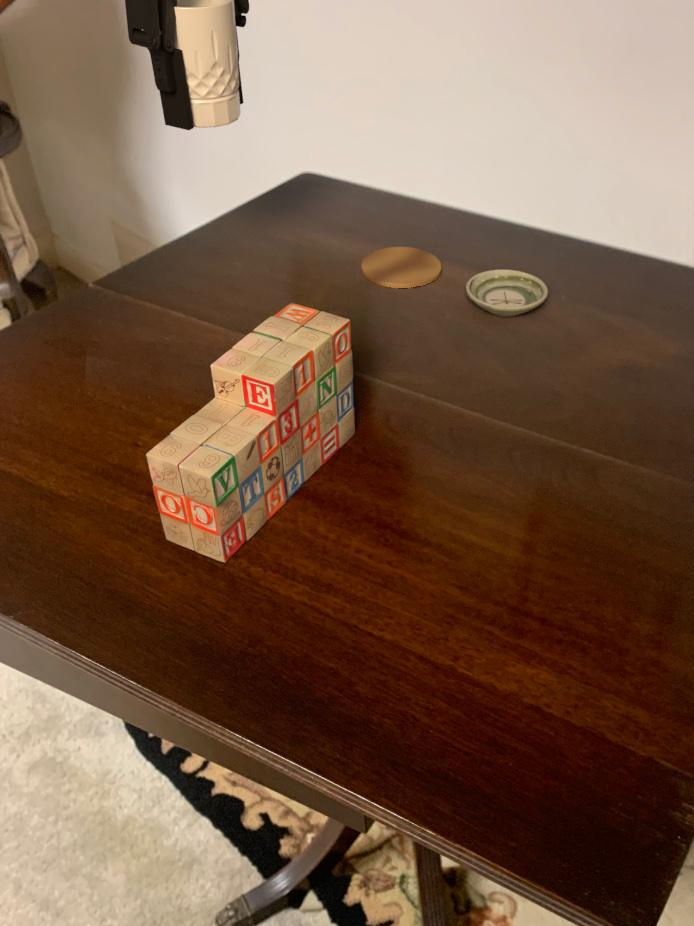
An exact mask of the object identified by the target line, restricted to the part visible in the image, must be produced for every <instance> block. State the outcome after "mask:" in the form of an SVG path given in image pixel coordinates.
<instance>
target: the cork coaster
mask: <svg viewBox="0 0 694 926" xmlns="http://www.w3.org/2000/svg"><path fill="white" fill-rule="evenodd" d="M442 269H443V268H442V262H441V260H439V258H438V257H437V256H436V255H434V254H432V253H431V252H429V251H426V250H424V249H420V248H416V247H411V246H410V247H409V246H391V247H384V248H379V249H376V250H374V251H372V252H370V253H368V254H366V255H365V256H364V257H363V259H362V260H361V263H360V271H361V273H362V275H363V276H364V278H366V280H369V282H371V283H374V284H376V285H378V286H381V287H384V288H390V287H391V289H398V288H408V289H414V288H413V287H416V286H421V287H424V286H423V285H425V286H427V285H426V284H428V283H430V284H432V283H433V282H432V281H434V280H435V281H436V279H437V278H438V277H439V278H440V276H441V275H440V274H442ZM439 275H440V276H439ZM439 278H438V279H439ZM438 279H437V280H438ZM435 281H434V282H435ZM431 282H432V283H431ZM428 285H429V284H428ZM411 287H412V288H411Z"/></svg>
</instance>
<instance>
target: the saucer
mask: <svg viewBox="0 0 694 926" xmlns="http://www.w3.org/2000/svg"><path fill="white" fill-rule="evenodd" d="M465 292H466V295H467V297H468V298H469V299H470V300H471V301H472V302H473V303H475V305H476V306H478V307H479V308H480V309H482V310H483V311H486V312H489V313H490V314H491V315H494V316H497V317H498V316H499V317H508V318H509V317H516V315H517V316H520V315H522V314H525V313H528V312H530V311H532V310H534V309H536V308H537V307H538V306H540V305H542V304H543V303H544V302H545V301H546V300H547V298H548V295H549V289H548V287H547V285H546V283H545V282H544V280H542V279H540V278H539V277H537V276H535V275H533V274H530V273H529V272H528V273H527V272H524V271H520V270H515V269H490V270H485V271H482V272H479V273H476V274H475V275H473V276H472V277H470V278H469V279H468V281H467V282H466V284H465ZM521 313H522V314H521ZM519 314H520V315H519Z"/></svg>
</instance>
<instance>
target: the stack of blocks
mask: <svg viewBox="0 0 694 926" xmlns="http://www.w3.org/2000/svg"><path fill="white" fill-rule="evenodd" d="M351 326H352V325H351V320H350V319H349V318H345V317H342V316H339V315H336V314H333V313H329V312H327V311H323V310H321V311H320V310H318V309H315V308H312V307H309V306H308V307H307V306H304V305H301V304H297V303H293V302H290V303H289V304H287V305H286V306H285V307H284V308H282V309H281V310H280V311H278V312H276V314H274V315H273V316H272V315H271V316H269V317H268V318H266V319H265V320H264V321H263V322H261V323H260V324H259V325H258V326H256V327H255V328H254V329H253V330H252V332H249V333H248V334H246V335H245V336H244V337H243V338H241V339H240V340H239V341H238V342H237V343H236V344H234V345H232V347H231V348H230V349H229V350H227V351H226V352H225V353H224V354H222V355H221V356H220V357H219V358H217V359H216V360H215V361H214V362H212V363H211V364H210V373H211V378H212V384H213V385H212V386H213V391H214V397H213V398H212V399H211V400H210V401H209V402H208V403H207V404H205V405H203V407H201V409H199V410H198V411H197V412H196V413H194V414H193V415H190V417H188V418H187V419H186V420H185V421H184V422H182V423H181V424H180V425H179V426H177V427H175V429H174V430H172V431H171V432H169V435H167V436H166V437H165V438H164V439H162V440H161V441H159V443H157V444H155V446H153V448H151V449H150V450H149V451H147V452H146V454H145V456H146V461H147V464H148V470H149V473H150V478H151V482H152V484H153V485H152V490H153V495H154V499H155V501H156V502H155V503H156V506H157V511H158V513H159V517H160V521H161V524H162V528H163V533H164V535H165V536H164V537H165V539H166V540H167V541H169V542H171V543H173V544H176V545H179V546H181V547H184V548H186V549H189V550H190V551H191V550H192V551H195V552H196V553H198V554H199V555H200V554H201V555H203V556H205V557H208V558H211V559H213V560H215V561H218V562H222V563H226V562H228V561H229V560H230V559H231V557H232V556H234V555H235V553H236V552H237V551H238V550H240V549H241V547H242V546H243V545H244V544H245V543H246V542H248V541H250V539H251V538H253V536H254V535H255V534H256V533H257V532H258V531H259V530H260V529H261V528H263V526H265V524H266V523H267V521H269V520H270V519H271V518H272V517H273V516H274V515H275V514H276V513H277V512H278V511H280V509H281V508H282V507H284V505H286V503H287V501H288V500H289V499H290V498H291V497H292V496H293V495H294V494H295V493H296V492H297V491H298V490H299V489H300V488H301V487H302V486H303V485H304V483H305V482H307V481H308V480H309V479H310V478H311V477H312V476H313V474H315V473H316V472H317V471H318V470H319V469H320V468H321V466H323V465H324V464H326V463H327V462H328V460H330V459H331V458H332V456H334V455H335V454H336V453H337V452H338V451H339V450H340V448H342V447H343V446H344V445H345V444H346V443H347V442H348V441H349V440H350V439H351V438H352V437H353V436H354V435H355V433H356V424H355V423H356V420H355V418H356V417H355V407H354V404H355V403H354V381H353V379H354V363H353V362H354V360H353V350H352V331H351V329H352V327H351Z"/></svg>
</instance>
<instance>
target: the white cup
mask: <svg viewBox="0 0 694 926" xmlns="http://www.w3.org/2000/svg"><path fill="white" fill-rule="evenodd" d="M174 9H175V15H176V28H175V44H174V48H175V49H180V50H182V54H183V61H184V68H185V74H186V81H187V87H188V94H189V100H190V107H191V114H192V120H193V127H194V128H200V129H201V128H218V127H222V126H227V125H231V124H232V123H234V122H236V121H238V120H239V118H240V115H241V104H240V98H239V89H238V87H239V71H238V49H239V48H238V49H237V37H238V34H237V35H236V28H237V26H236V22H235V8H234V0H177V7H174ZM160 34H161V35H162V32H161V30H160Z"/></svg>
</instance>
